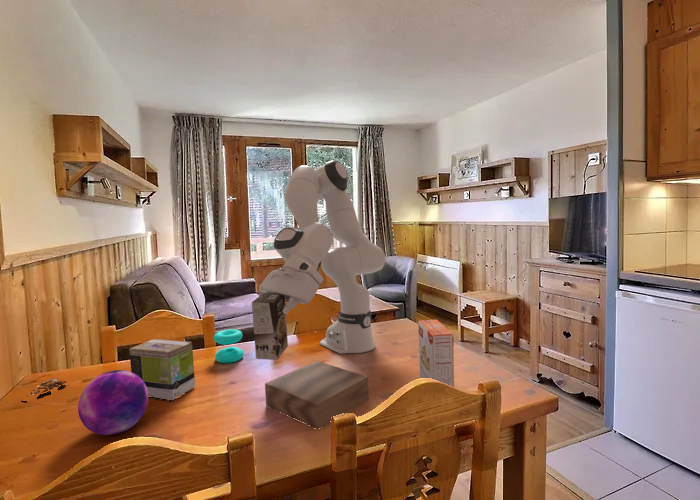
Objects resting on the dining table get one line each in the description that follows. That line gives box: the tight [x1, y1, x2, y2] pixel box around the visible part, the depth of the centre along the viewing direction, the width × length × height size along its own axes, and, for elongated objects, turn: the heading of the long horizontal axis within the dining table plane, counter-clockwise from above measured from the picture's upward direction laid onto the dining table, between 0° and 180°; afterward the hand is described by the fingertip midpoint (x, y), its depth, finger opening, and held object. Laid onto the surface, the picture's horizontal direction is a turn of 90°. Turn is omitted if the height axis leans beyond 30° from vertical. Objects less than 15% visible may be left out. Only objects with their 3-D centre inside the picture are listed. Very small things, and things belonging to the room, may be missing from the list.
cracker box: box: [417, 319, 455, 388], centre depth 110 cm, size 14×6×21 cm, turn 5°
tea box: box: [128, 338, 196, 401], centre depth 121 cm, size 15×10×15 cm, turn 71°
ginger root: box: [29, 378, 67, 395], centre depth 124 cm, size 7×12×4 cm, turn 172°
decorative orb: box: [77, 369, 149, 436], centre depth 100 cm, size 15×15×15 cm
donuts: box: [213, 328, 245, 364], centre depth 147 cm, size 10×10×10 cm
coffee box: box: [251, 292, 289, 361], centre depth 111 cm, size 9×6×16 cm
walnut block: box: [264, 360, 369, 430], centre depth 112 cm, size 20×20×7 cm
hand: (272, 310), depth 112 cm, fingers closed on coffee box, 8 cm apart
